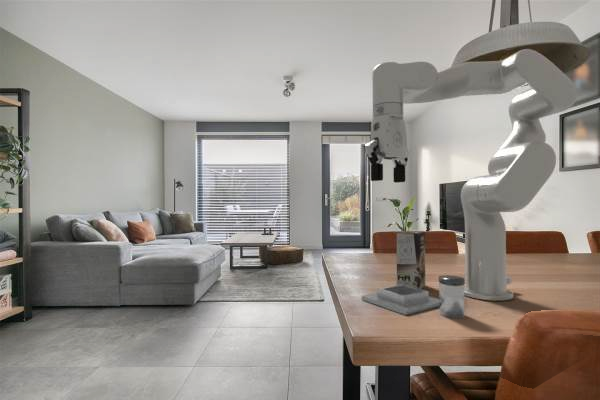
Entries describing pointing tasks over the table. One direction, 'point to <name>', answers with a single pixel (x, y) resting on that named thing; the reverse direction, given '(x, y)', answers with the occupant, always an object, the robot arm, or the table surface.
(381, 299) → the collar
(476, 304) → the table surface
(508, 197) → the robot arm
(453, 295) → the grey jar with lid
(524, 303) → the table surface
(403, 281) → the coffee box
